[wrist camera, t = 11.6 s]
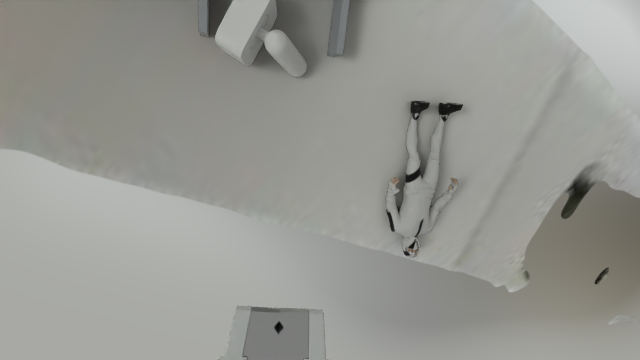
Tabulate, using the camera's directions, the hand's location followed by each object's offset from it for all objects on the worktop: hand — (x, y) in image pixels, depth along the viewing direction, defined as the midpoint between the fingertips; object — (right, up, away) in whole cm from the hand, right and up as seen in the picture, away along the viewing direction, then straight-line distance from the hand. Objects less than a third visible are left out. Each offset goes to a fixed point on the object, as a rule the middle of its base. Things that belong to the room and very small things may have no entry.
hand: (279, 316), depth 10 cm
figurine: (+19, +5, +47) cm, 51 cm away
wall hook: (-6, +24, +32) cm, 41 cm away
